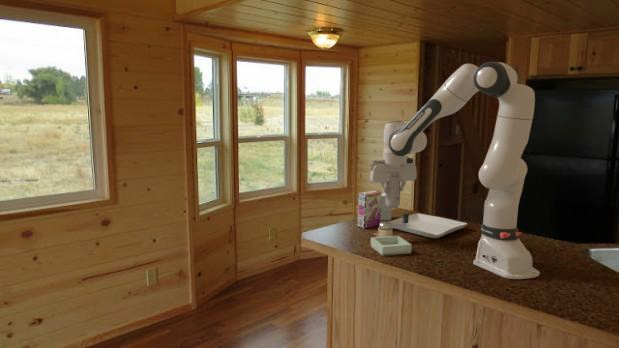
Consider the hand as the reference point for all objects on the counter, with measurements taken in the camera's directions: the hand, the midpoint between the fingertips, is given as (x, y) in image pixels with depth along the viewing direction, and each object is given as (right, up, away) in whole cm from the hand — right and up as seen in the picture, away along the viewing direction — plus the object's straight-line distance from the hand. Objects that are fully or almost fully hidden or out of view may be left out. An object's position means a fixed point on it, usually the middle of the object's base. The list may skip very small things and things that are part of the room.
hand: (393, 191), depth 182 cm
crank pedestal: (-5, -20, +1) cm, 21 cm away
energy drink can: (0, -7, +1) cm, 7 cm away
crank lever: (0, -15, -3) cm, 15 cm away
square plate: (+18, -19, +15) cm, 30 cm away
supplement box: (+2, -15, +33) cm, 37 cm away
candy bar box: (-8, -17, +20) cm, 28 cm away
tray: (-4, -23, -13) cm, 26 cm away
